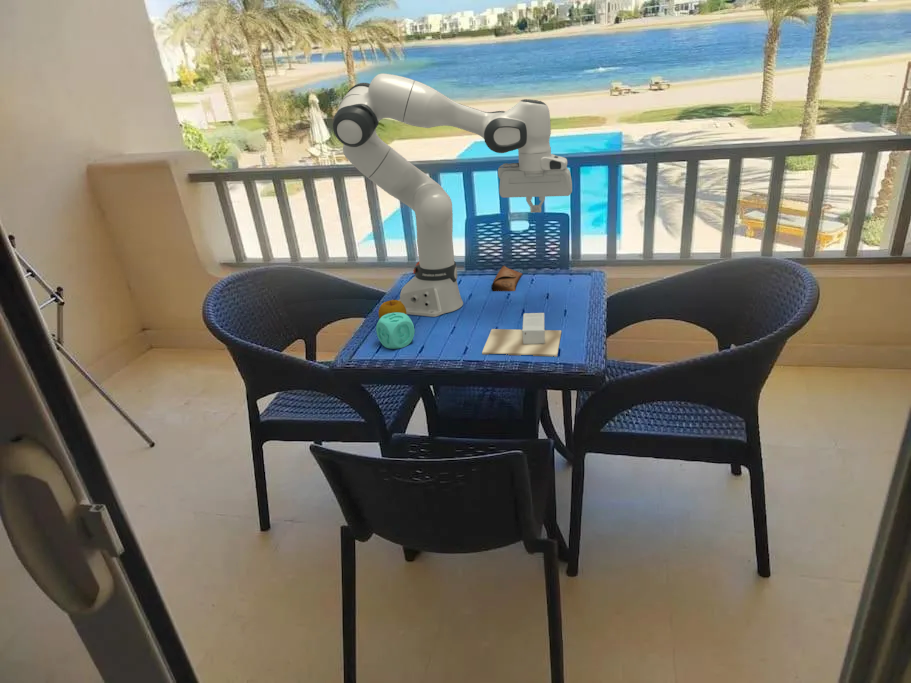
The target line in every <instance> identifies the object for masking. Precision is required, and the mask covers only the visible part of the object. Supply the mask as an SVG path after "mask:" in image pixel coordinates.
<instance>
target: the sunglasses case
mask: <svg viewBox="0 0 911 683" xmlns="http://www.w3.org/2000/svg"><path fill="white" fill-rule="evenodd" d="M523 275H524V273H522V272H520V271H517V270H515V269H512V268H509V267H507V266H506V265H502V266H501V268H500V269H499V271H497V274H496V275H495V278H493V279H494V280H493V281H492V284H491V286H490V287H491V290H492V292H515V291H516V289H517V285H518V283H519V282H520V281H519V280H520V279H521V278H522V276H523Z"/></svg>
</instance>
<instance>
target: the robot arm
mask: <svg viewBox="0 0 911 683" xmlns="http://www.w3.org/2000/svg"><path fill="white" fill-rule="evenodd" d="M383 119H391V120H396V121H397V122H401V123H403V124H406V125H409V126H412V127H416V128H417V127H418V128H425V129H431V128H435V127H440V126H442V127H443V126H448V127H453V128H457V129H460V130H463V131H466V132H470V133H472V134H475V135H478V136H480V137H481V138H482V139H483V140H484V143H485V145H486V147H487V148H488V149H490V151H492V152H494V153H498V154H505V153H509V152H513V151H515V150H518V162H511V163H503V164H502V165H500V166H499V167H498V168H497V176H498V177H497V178H498V179H499V190H498V191H499V192H498V193H499V196H500V197H501V198H502V199H503V198H525V200H526V202H527V204H528V206H529V207H530V213H531V214H532V213H542V206H543V203H544V202H545V200H546V197H569V196H570V195H571V194H572V193H573V181H572V176H571V171H570V169H569V168H568V159H567V158H566V157H564V156H560V155H555V154H553V153H552V147H551V145H550V137H551V134H552V131H551V115H550V110H549V106H548V105H547V103H546V102H543V101H541V100H537V99H530V98H529V99H521V100H519V102H517V104H516V105H514V106H513V107H511V108H509V109H507V110H506V111H504V110H496V111H484V110H479V109H478V108H474V107H471V106H468V105H465V104H461V103H458V102H456V101H454V100H452V99H451V98H450V97H448V96H446V95H445V94H443V93H442V92H440V91H438V90H436V89H435V88H433V87H432V86H429V85H428V84H425V83H423V82H421V81H418V80H414V79H412V78H410V77H409V78H408V77H405V76H401V75H396V74H393V73H392V74H391V73H378V74H376V75H375V76H374V77H373V78H372V79H371V82H370V83H368V82H360V83H356V84H355V85H353V86H352V87H350V88H349V90H348V91H347V93H346V94H345V95H344V97H343V98H342V100H341V101H340V103H339V106H338V108H337V111H336V113H335V114H334V117H333V121H332V129H333V130H332V131H333V133H334V135H335V137H336V139H337V140H338V142H340V143H341V144H343V146H342V153H343V155H344V157H345V158H346V159H347V161H348V162H350V164H351V165H353V166H354V168H356V169H357V171H359V172H360V173H361V174H362V175H363V176H365V177H366V178H367V179H368V180H369V181H371V182H373V183H374V185H376V186H378V188H380V189H381V190H383V191H384V192H386V193H387V194H388V195H390V196H392V197H393V198H395V199H397V200H398V201H400V202H401V203H403V204H404V205H406V206H407V207H408V208H410V209H411V210H412V211H413V212H414V214H415V222H416V223H415V225H416V244H417V253H418V254H417V255H418V261H417V263H416V264H415V266H414V269H413V270H412V272H413V273H412V274H413V275H414V276H413V277H412V278H411V279H410V280H409V281H408V282H406V283H405V284H404V285H403V287H402V288H401V291H400V293H399V299H397V300H398V301H401V302H402V303H403V305H404V306H405V308H406V315H413V316H424V317H431V318H433V317H439V316H441V315H443V314H446V313H451V312H454V311H457V310H460V309H461V307H462V306H463V305H464V302H463V299H462V296H461V294H460V289H459V285H458V268H457V263H456V261H455V253H454V242H453V241H454V239H453V232H454V231H453V228H454V227H453V226H454V225H453V224H454V223H453V222H454V220H453V216H454V213H453V202H452V198H451V197H450V195H449V194H448V193H447V192H446V190H445V189H444V188H443V187H442V186H441V185H440V184H439V183H438V182H436V180H434V179H433V178H431V177H430V176H429V175H427V174H426V173H425V172H423V171H422V170H421V169H419V168H418V167H417V166H415V165H414V164H413V163H412V162H410V161H409V160H407V159H406V158H405V157H404V156H403V155H401V154H400V153H399V152H398V151H396V150H395V149H394V148H392V147H391V146H390V145H388V144H387V142H385V141H384V140H382V138H380V137H379V136H378V134H377V131H376V130H377V127H378V126H379V123H380V121H381V120H383ZM535 197H536V198H538V199H539V200H538V201H540V202H539V204H533V202H532V200H533V198H535Z"/></svg>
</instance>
